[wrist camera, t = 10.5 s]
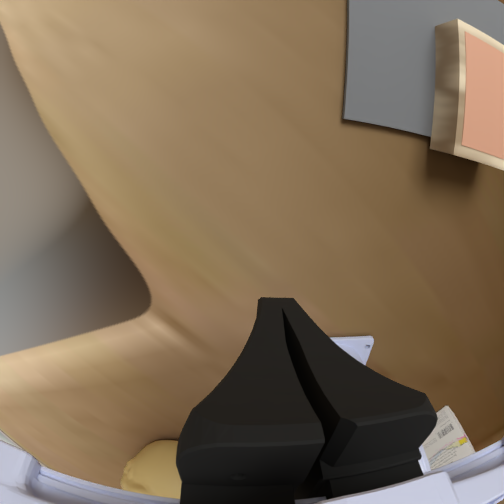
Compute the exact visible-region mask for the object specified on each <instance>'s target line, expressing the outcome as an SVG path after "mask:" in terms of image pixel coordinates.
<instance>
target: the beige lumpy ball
mask: <svg viewBox="0 0 504 504" xmlns="http://www.w3.org/2000/svg"><path fill="white" fill-rule="evenodd" d="M177 444H178V441H174V440H159V441H155V442H152V443H150V444H148V445H147V446H145V447H144V448H143V449H142V450H141V451H140V452H139V453H138V454H137V455H136V456H135V457H134V458H133V459H131V460H129V461H128V462H127V464H126V466H125V468H124V474H123V476H122V478H121V481H120V484H121V487H122V490H126V491H131V492H136V493H141V494H147V495H153V496H160V497H167V498H176V499H180V495H181V484H182V482H181V479H180V476H179V473H178V470H177V466H176V452H177Z"/></svg>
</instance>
